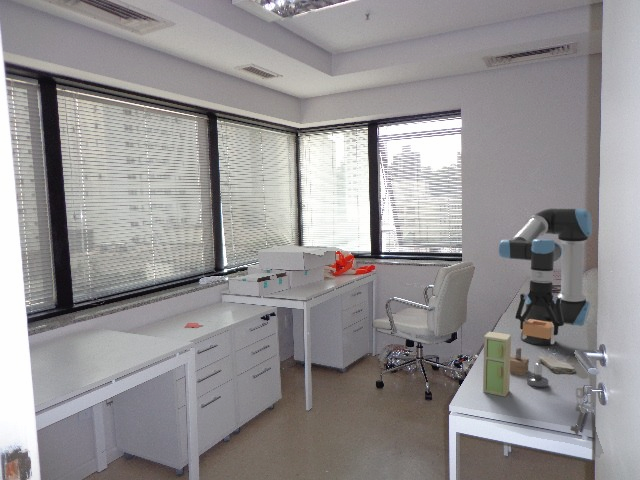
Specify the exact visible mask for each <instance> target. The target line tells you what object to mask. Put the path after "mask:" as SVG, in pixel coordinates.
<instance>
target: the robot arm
mask: <svg viewBox="0 0 640 480" xmlns="http://www.w3.org/2000/svg"><path fill="white" fill-rule="evenodd" d="M592 234H593V219H592V215H591V212H590V211H589V210H587V209H581V208H546V209H542V210H540V211H538V212H535V213H534V214H532V215H531V216H529V218H527V219H526V221H525V225H524V226H522V228H521V229H520V230H519V231H518V232H517V233H516V234H515V235H514V236H513V237H512V238H511V239H509V238H507V239H502V240H500V242H499V244H498V254H499V255H498V256H500V258H503V259H508V260H509V259H510V260H523V261H530V277H529V279H530V281H529V292H528V293H524V292H523V293H521V294H520V295H519V296H520V301H519V304H518V307H517V310H516V314H515V319H516V320H519V323H520V325H519V329H520V330H521V332H520V340H521V341H523V342H525V343H528V344H532V345H536V346H552V345H554V344H555V343H556V336H557V335H558V334H559V327H563V326H564V325H570V326H573V327H574V326H578V327H580V326H581V327H582V326H585V324H586V322H587V319H588V317H589V312H590V307H591V303H590V302H589V301H588V300H587V297H586V295H585V294H583V279H584V278H583V277H584V248H585V247H584V246H585V243H586V242H587V241H588V238H589V237H591V236H592ZM543 235H557V237H558V238H557V239H558V240H559V241H560V242H561V245H560V244H559V243H558V242H555V241H554V240H553V239H549V238H540V237H541V236H543ZM560 258H561V277H560V283H561V284H560V292H559V293H558V294H557V295H556V296H554V294H553V281H554V264H555V263H554V262H556V261H558V260H560ZM524 306H525V310H524V313H523V309H524ZM522 313H523V314H522ZM529 319H534V320H540V321H546V322H552V323H553V326H552V327H551V338H550V339H544V338H539V337H533V336H528V335H522V333H523V324H524V323H525V322H526V321H527V320H529Z"/></svg>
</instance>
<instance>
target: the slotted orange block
mask: <svg viewBox="0 0 640 480" xmlns="http://www.w3.org/2000/svg"><path fill="white" fill-rule="evenodd" d="M552 326H553V323H552V322H546V321H540V320H534V319H529V320H527V321H526V322H525V323H524V324H523V329H522V330H523V333H522V335H528V336H533V337H539V338H544V339H550V338H551V327H552Z"/></svg>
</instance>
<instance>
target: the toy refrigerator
mask: <svg viewBox="0 0 640 480" xmlns="http://www.w3.org/2000/svg"><path fill="white" fill-rule="evenodd" d="M483 336H484V337H483V338H484V340H483V376H482V377H483V378H482V380H483V381H482V392H483V393H485V394H491V395H493V396H494V395H495V396H499V397H504V398H506V397H507V395H508V394H509V392H510V377H511V372H510V357H511V350H512V349H511V347H512V346H511V345H512V344H511V343H512V335H511V334H509V333H508V334H507V333H501V332H495V331H494V332H493V331H488V332H487V333H486V334H484V335H483Z"/></svg>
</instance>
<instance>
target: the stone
mask: <svg viewBox="0 0 640 480" xmlns="http://www.w3.org/2000/svg"><path fill="white" fill-rule="evenodd" d="M537 359H539V360H540V362H541V364H544V365H545V366H546V367H547V368H548V369H550V370H551V371H553V373H554V374H559V373H560V374H561V373H563V374H569V375H570V374H574V373H575V371H576V368H575V367H574V366H572V365H570V364H569V363H567V362H564V361H561V360H557V359H554V358H551V357H547V356H543V355H542V356H541V355H537Z"/></svg>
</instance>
